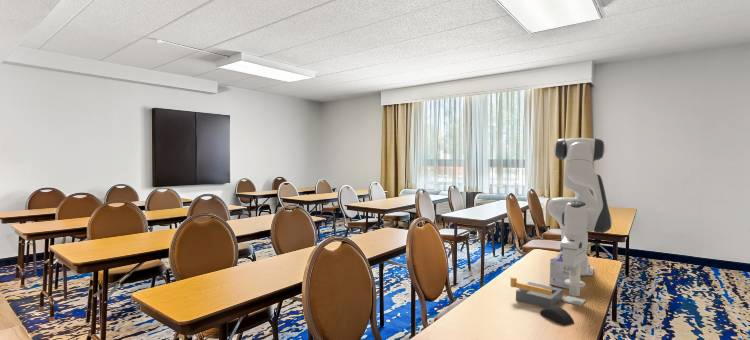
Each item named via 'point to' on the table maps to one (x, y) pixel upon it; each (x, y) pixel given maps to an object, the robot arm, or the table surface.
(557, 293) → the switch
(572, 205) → the robot arm
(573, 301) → the pad
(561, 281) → the ink cartridge box
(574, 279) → the plug
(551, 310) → the computer mouse
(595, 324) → the table surface
